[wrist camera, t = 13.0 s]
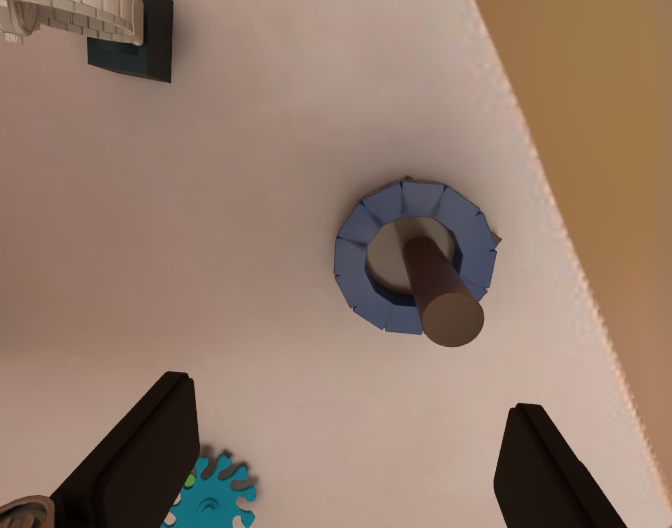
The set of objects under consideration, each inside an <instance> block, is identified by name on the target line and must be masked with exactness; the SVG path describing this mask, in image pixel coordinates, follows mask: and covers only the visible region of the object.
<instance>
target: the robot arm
mask: <svg viewBox="0 0 672 528" xmlns="http://www.w3.org/2000/svg"><path fill="white" fill-rule="evenodd" d="M199 453H200V443H199V433H198V422H197V411H196V400H195V389H194V381H193V379H192V378H189V376H188V374H187V373H183V372H172V371H168V372H166V373H164V374H163V376H162V377H161V378H160V379H159V380H158V381H157V382H156V383H155V384H154V385H153V386H152V387H151V389H150V390H149V391H148V392H147V393H146V394H145V395H144V396H143V397H142V398H141V399H140V400H139V401H138V403H137V404H136V405H135V406H134V407H133V408H132V409H131V410H130V411H129V412H128V413H127V414H126V416H125V417H124V418H123V419H122V420H121V421H120V422H119V423H118V424H117V425H116V426H115V427H114V428H113V429H112V430H111V431H110V432H109V433H108V435H107V436H106V437H105V438H104V439H103V440H102V441H101V442H100V443H99V444H98V445H97V446H96V448H95V449H94V450H93V451H92V452H91V453H90V454H89V455H88V456H87V457H86V458H85V459H84V460H83V462H82V463H81V464H80V465H79V466H78V467H77V468H76V469H75V470H74V471H73V472H72V473H71V475H70V476H69V477H68V478H67V479H66V480H65V481H64V482H63V483H62V484H61V485H60V486H59V487H58V489H57V490H56V491H55V492H54V493H53V494H52V495H51V496H50V497H46V496H42V495H34V496H27V497H23V498H20V499H16V500H14V501H12V502H10V503H8V504H6V505H3V506H2V507H0V528H160V527H161V525H162V523H163V522H164V520H165V518H166V516H167V514H168V513H169V511H170V509H171V507H172V505H173V504H174V502H175V500H176V498H177V497H178V495H179V493H180V491H181V489H182V488H183V486H184V484H185V482H186V480H187V479H188V477H189V475H190V473H191V471H192V470H193V468H194V466H195V464H196V462H197V460H198V457H199ZM494 492H495V495H496V498H497V501H498V504H499V506H500V509H501V512H502V514H503V517H504V520H505V523H506V525H507V528H627V526H626V525H625V523H624V522H623V521H622V519H621V518H620V516H619V515H618V513H617V512H616V510H615V509H614V507H613V506H612V504H611V503H610V502H609V500H608V499H607V497H606V496H605V494H604V493H603V491H602V490H601V488H600V487H599V486H598V484H597V483H596V481H595V480H594V478H593V477H592V475H591V474H590V472H589V471H588V470H587V468H586V467H585V466H584V464H583V463H582V462H581V461H579V460H578V458H577V457H576V455H575V454H574V452H573V451H572V450H571V448H570V447H569V445H568V444H567V442H566V441H565V439H564V438H563V436H562V435H561V433H560V432H559V430H558V429H557V427H556V426H555V425H554V423H553V422H552V420H551V419H550V417H549V416H548V414H547V413H546V411H545V410H544V408H543V407H542V406H541V405H537V404H526V403H518V404H517V405H516V407H515V408H510V410H509V414H508V418H507V423H506V427H505V431H504V436H503V440H502V445H501V449H500V454H499V458H498V463H497V467H496V472H495V476H494Z"/></svg>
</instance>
